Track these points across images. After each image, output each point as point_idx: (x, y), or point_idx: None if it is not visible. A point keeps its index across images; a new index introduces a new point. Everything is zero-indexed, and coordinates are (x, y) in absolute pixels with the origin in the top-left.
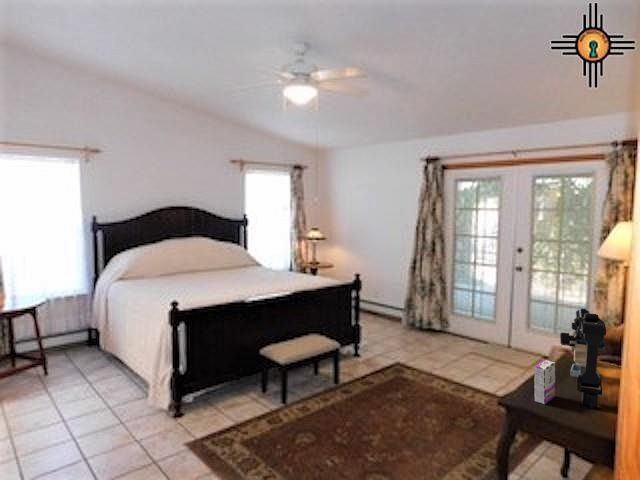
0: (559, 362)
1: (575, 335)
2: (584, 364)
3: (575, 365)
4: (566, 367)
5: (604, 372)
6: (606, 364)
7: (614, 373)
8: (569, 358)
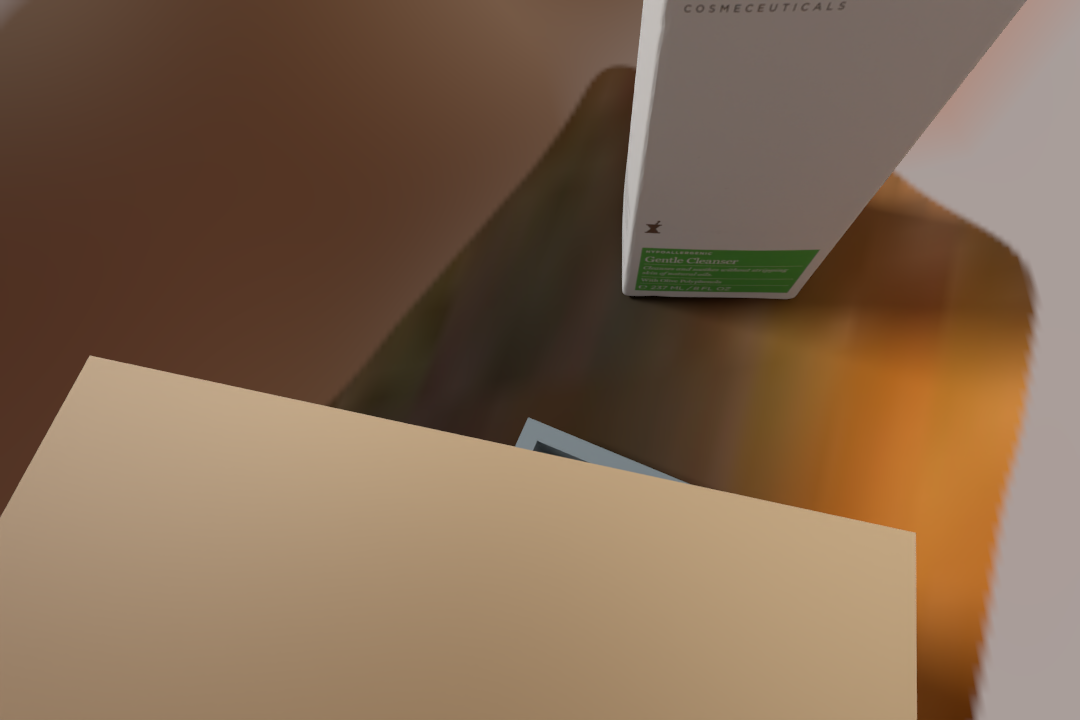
0: (467, 262)
1: (77, 481)
2: (701, 293)
3: (552, 447)
4: (489, 387)
5: (882, 478)
6: (946, 231)
7: (1002, 495)
8: (600, 146)
